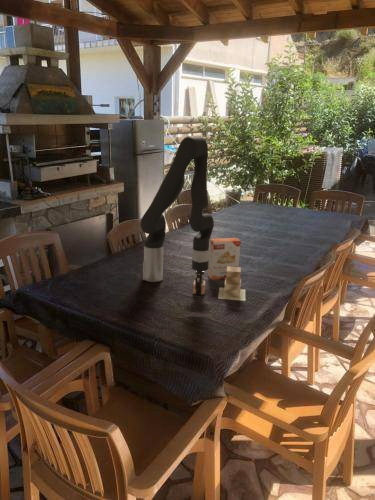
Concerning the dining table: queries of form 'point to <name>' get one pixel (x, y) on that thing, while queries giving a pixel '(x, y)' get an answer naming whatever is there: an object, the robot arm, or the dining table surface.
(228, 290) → the birch base block
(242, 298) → the beige flat square slab
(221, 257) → the cracker box
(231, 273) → the oak top block
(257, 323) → the dining table surface
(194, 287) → the terracotta block
